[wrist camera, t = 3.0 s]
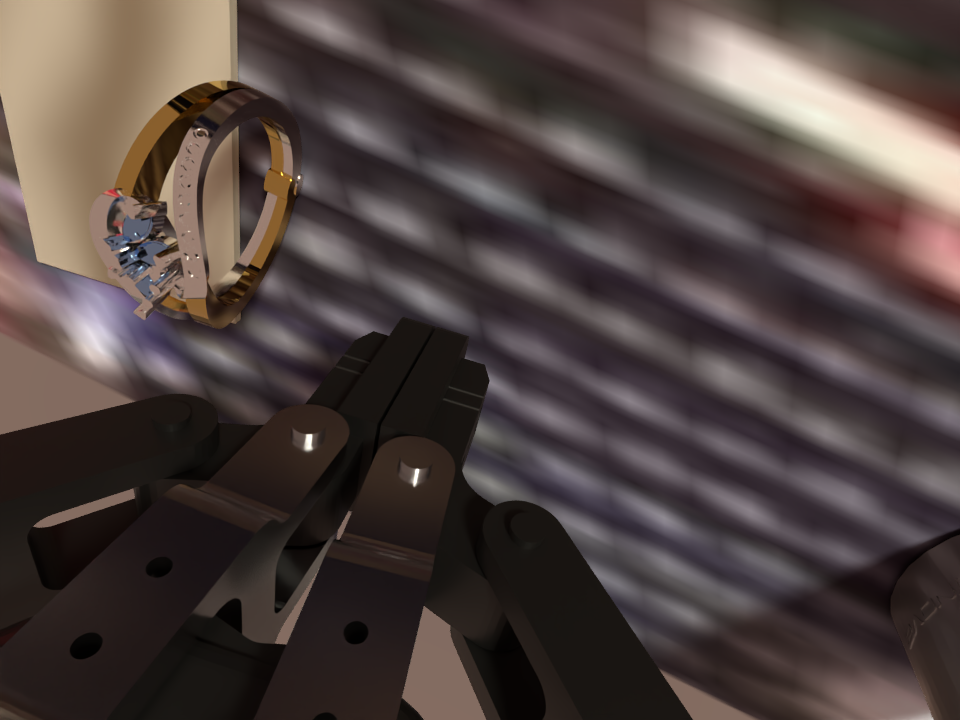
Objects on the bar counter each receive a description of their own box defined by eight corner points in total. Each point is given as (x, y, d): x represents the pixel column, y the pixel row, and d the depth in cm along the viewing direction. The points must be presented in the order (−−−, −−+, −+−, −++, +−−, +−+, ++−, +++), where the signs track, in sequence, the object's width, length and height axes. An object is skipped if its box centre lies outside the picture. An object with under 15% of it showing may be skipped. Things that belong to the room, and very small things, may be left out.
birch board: (236, -57, 17) (228, -58, 17) (240, 319, 24) (235, 323, 24) (-37, -129, 18) (-50, -132, 18) (45, 257, 25) (37, 261, 25)
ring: (312, 280, 23) (177, 395, 16) (236, 244, 23) (69, 345, 16) (357, 99, 19) (204, 151, 12) (266, 56, 19) (61, 84, 12)
